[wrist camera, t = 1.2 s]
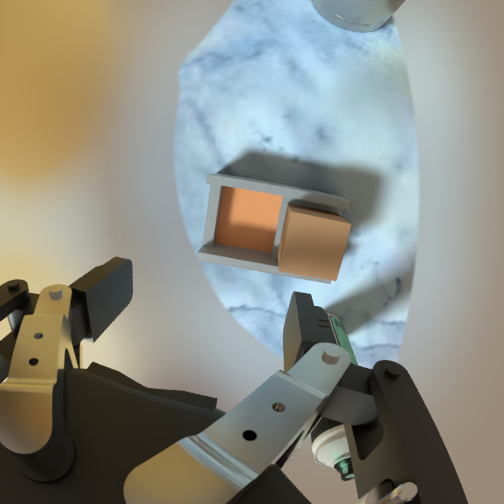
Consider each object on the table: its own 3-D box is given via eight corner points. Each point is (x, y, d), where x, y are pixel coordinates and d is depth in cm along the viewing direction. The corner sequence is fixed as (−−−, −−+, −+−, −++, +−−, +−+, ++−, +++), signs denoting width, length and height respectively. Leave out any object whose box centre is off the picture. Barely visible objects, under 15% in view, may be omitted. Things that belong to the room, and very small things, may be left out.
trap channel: (216, 173, 27) (207, 174, 24) (340, 196, 27) (351, 201, 23) (206, 247, 30) (196, 259, 26) (323, 268, 30) (330, 283, 26)
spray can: (303, 310, 31) (327, 464, 12) (347, 312, 31) (402, 454, 12) (296, 346, 33) (307, 492, 14) (337, 348, 33) (372, 485, 14)
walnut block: (287, 202, 26) (291, 211, 21) (337, 213, 26) (351, 224, 21) (277, 252, 27) (278, 271, 23) (325, 261, 27) (336, 281, 23)
